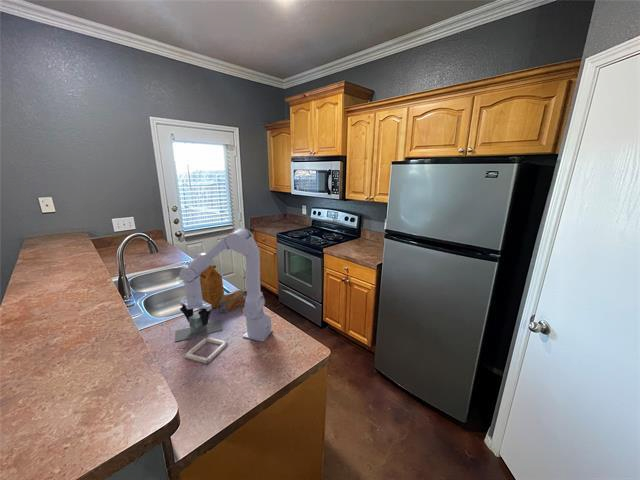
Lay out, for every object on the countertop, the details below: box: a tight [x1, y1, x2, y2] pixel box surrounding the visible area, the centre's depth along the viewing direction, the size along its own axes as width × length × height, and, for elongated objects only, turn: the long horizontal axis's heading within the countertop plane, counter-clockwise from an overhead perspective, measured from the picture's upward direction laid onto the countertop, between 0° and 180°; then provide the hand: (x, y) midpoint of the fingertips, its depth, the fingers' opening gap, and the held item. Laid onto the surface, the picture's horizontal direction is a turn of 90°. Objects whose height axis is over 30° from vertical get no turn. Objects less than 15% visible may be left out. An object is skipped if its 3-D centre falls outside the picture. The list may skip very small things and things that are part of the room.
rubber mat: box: [174, 319, 224, 343], centre depth 110 cm, size 18×8×1 cm, turn 116°
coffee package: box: [200, 264, 225, 310], centre depth 130 cm, size 10×12×22 cm
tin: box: [216, 289, 247, 314], centre depth 126 cm, size 15×3×8 cm, turn 134°
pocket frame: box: [184, 336, 228, 364], centre depth 98 cm, size 10×11×1 cm
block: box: [188, 311, 207, 335], centre depth 109 cm, size 4×5×7 cm
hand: (198, 322), depth 109 cm, fingers open, 7 cm apart
